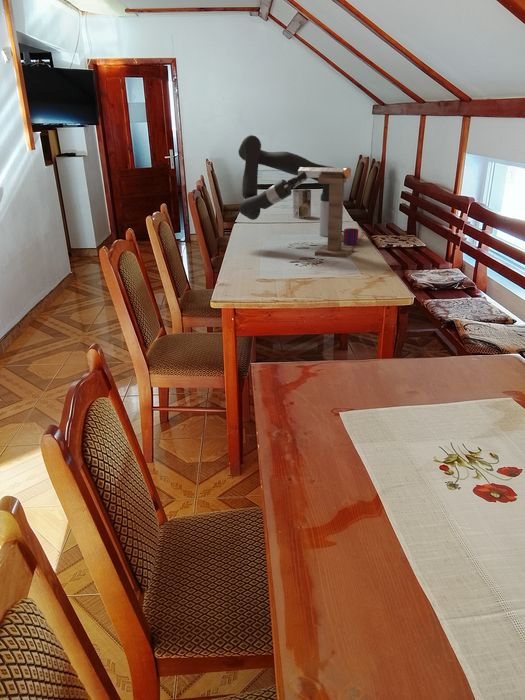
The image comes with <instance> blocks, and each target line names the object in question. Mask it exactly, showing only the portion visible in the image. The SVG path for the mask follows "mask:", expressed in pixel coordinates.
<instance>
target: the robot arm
mask: <svg viewBox="0 0 525 700" xmlns="http://www.w3.org/2000/svg"><path fill="white" fill-rule="evenodd" d="M261 148H262V142H261V140H260V139H259V138H258V137H257V136H255V135H253V134H251V135H247V136H245V138H243V140H242V141H241V144H240V146H239V148H238V155H239V158H241V159H242V160H243V161H245V164H244V170H243V176H242V188H241V189H242V193H241V194H242V197H243V199H244V200H242V201H241V202H240V203H239V205H238V211H239V213H240V214H241V215H243V216H244V217H246V218H247V219H249V220H253V221H254V220H257V219H258V218H259V216H260V214H261V209H262V210H266V209H268V208H270V207H272V206H274V205H275V204H278V203H280V202H281V201H283V200H285V199H287V198H288V197H290V196H291V195H292V193H293V191H292V190H293V189H296V188H297V187H298V186H300V185H302V184H303V182H306V181H307V179H312V180H315V181H316V182H318V178H311V177H307V175H306V173H305V172H304V173H302V174H301V175H299V176H298V169H299V168H300V167H315V168H336V167H334V166H330V165H323V164H319V163H315V162H314V161H313V162H312V161H311V160H309V159H307V158H305V157H302V156H301V155H298V154H296V153H292V152H290V151H265V150H262V149H261ZM259 165H260V166H266V167H268V168H272V169H275V170H279V171H281V172H284V173H287V174H290V175H293V176H294V177H292V178H290V179H288V180H285V179H281V180H279V181H278V182H275V183H274V184H273V185H272V186H269V187H268V189H266V190H264V191H262V192H261V193H260V194H258V189H259V188H258V178H259V177H258V175H259V173H258V172H259ZM328 216H329V184H322V193H321V194H320V211H319V236H321V237H328Z"/></svg>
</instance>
